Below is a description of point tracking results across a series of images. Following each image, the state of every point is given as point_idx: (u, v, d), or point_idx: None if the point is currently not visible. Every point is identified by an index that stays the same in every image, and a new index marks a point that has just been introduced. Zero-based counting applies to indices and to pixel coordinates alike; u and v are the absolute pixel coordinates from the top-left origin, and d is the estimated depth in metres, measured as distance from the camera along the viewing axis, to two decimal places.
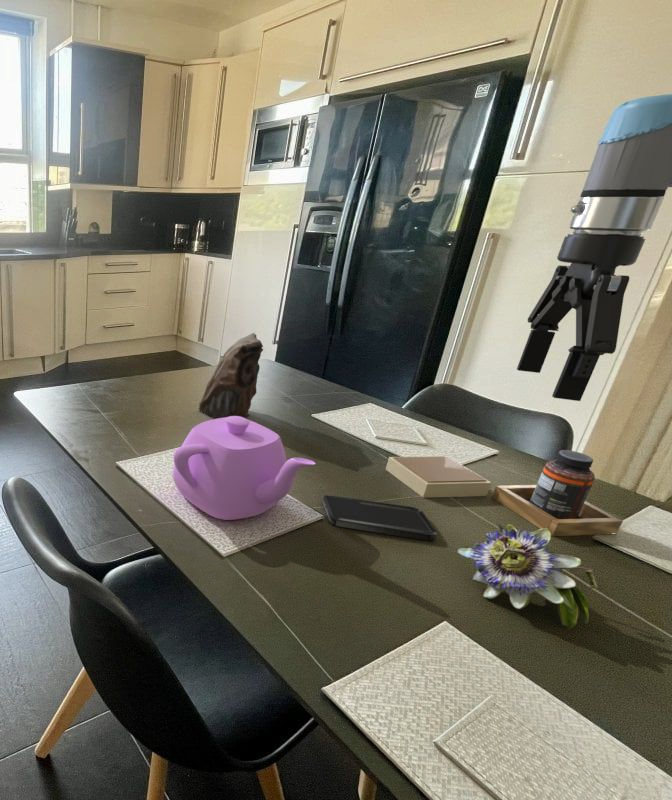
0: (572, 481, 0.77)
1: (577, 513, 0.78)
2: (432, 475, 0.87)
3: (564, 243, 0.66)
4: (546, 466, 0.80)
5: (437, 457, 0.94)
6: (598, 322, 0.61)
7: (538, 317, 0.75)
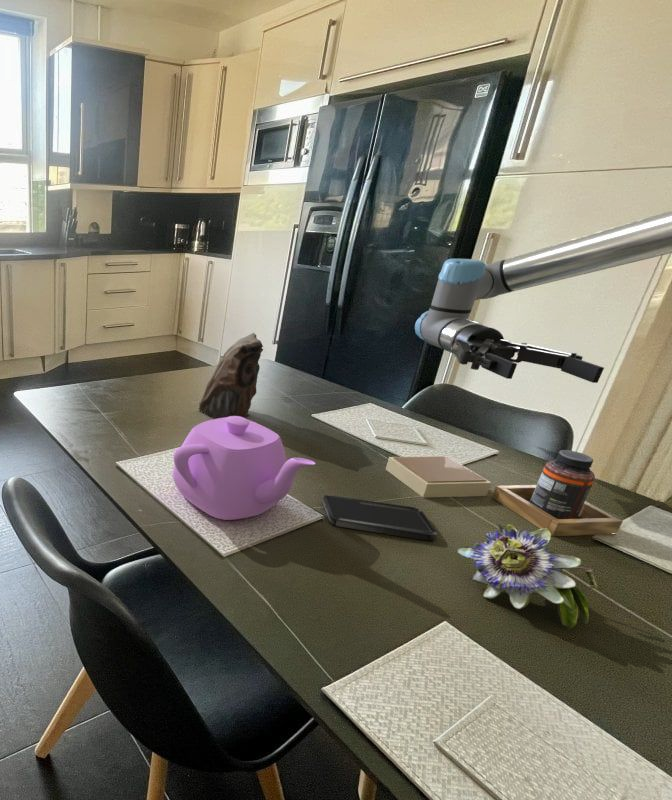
0: (572, 481, 0.77)
1: (577, 513, 0.78)
2: (432, 475, 0.87)
3: None
4: (546, 466, 0.80)
5: (437, 457, 0.94)
6: (458, 356, 0.93)
7: (553, 366, 0.90)
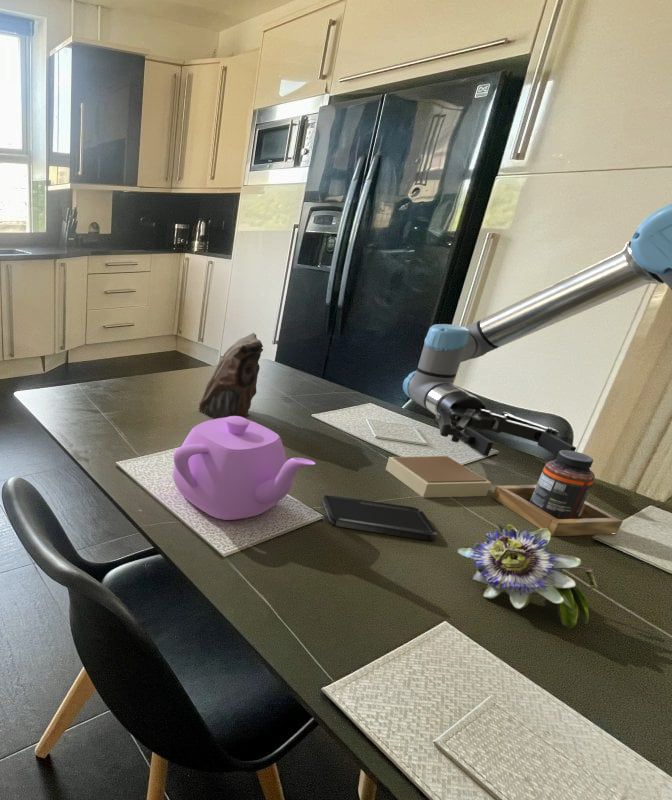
0: (572, 481, 0.77)
1: (577, 513, 0.78)
2: (432, 475, 0.87)
3: None
4: (546, 466, 0.80)
5: (437, 457, 0.94)
6: (440, 427, 0.97)
7: None
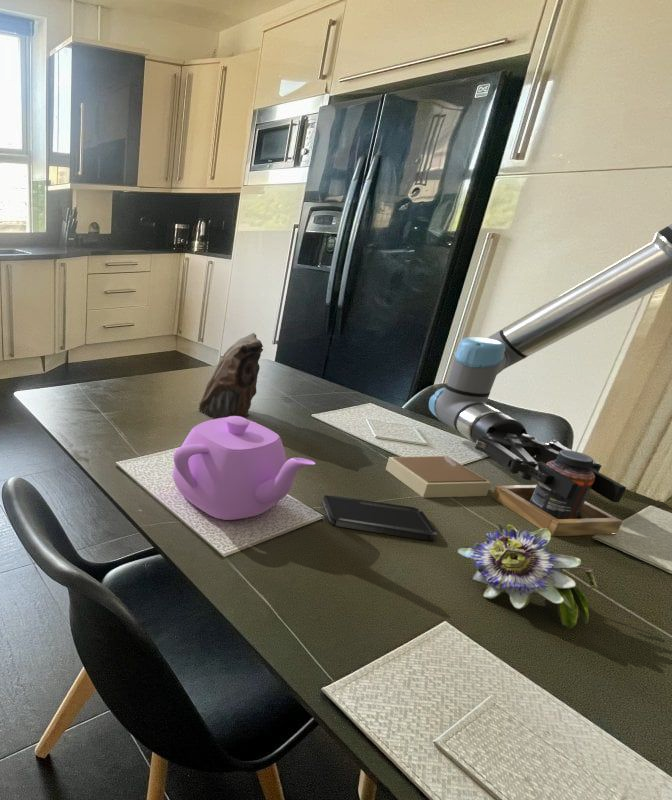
0: None
1: (577, 513, 0.78)
2: (432, 475, 0.87)
3: None
4: None
5: (437, 457, 0.94)
6: (498, 460, 0.85)
7: None
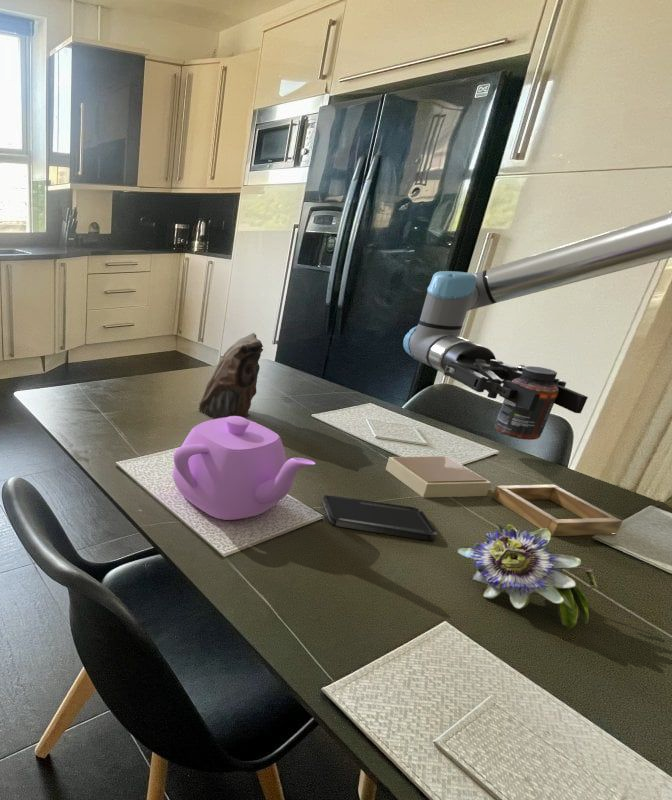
0: None
1: (541, 428, 0.78)
2: (432, 475, 0.87)
3: None
4: None
5: (437, 457, 0.94)
6: (465, 382, 0.85)
7: None
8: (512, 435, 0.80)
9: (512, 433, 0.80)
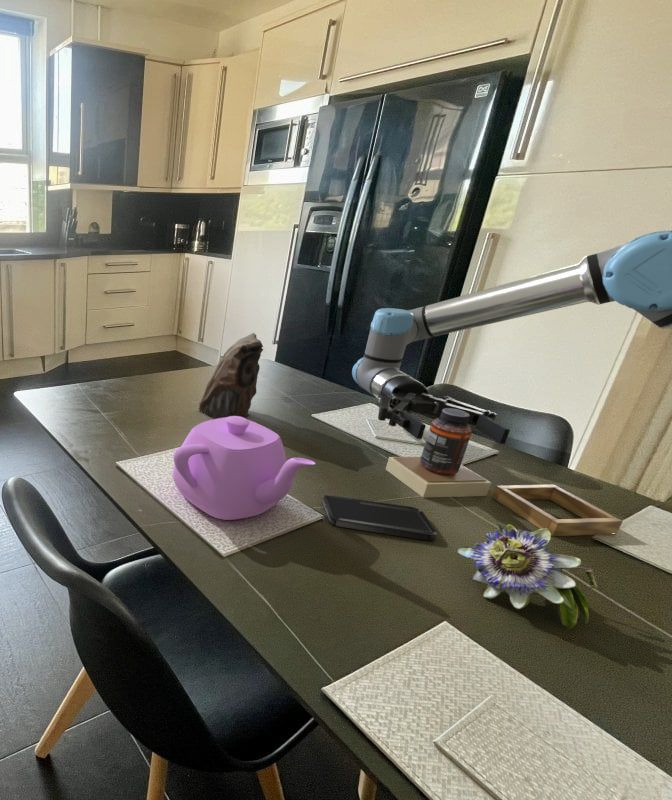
0: (450, 435, 0.85)
1: (458, 464, 0.87)
2: (432, 475, 0.87)
3: None
4: (432, 423, 0.88)
5: None
6: (379, 411, 0.95)
7: None
8: (433, 470, 0.88)
9: (433, 469, 0.88)
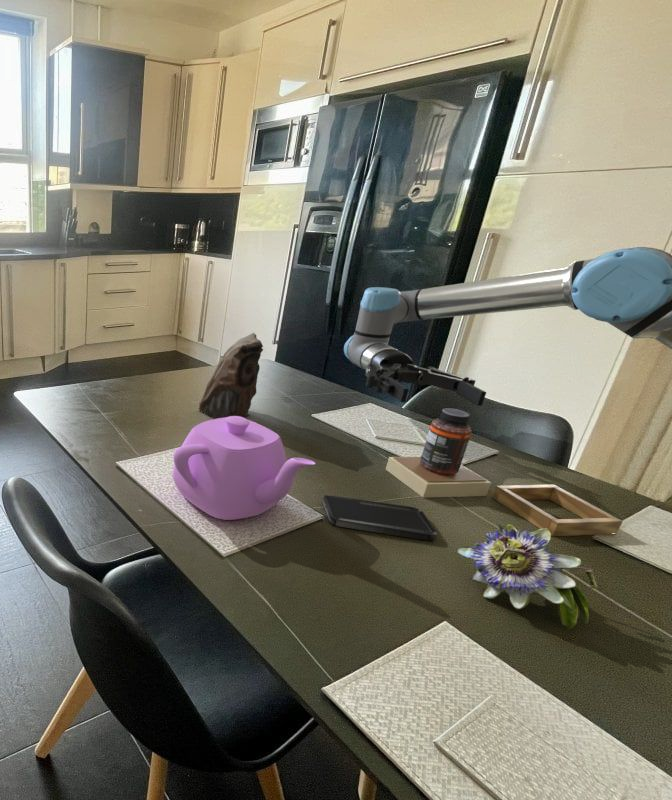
0: (450, 435, 0.85)
1: (458, 464, 0.87)
2: (432, 475, 0.87)
3: None
4: (432, 423, 0.88)
5: None
6: None
7: None
8: (433, 470, 0.88)
9: (433, 469, 0.88)
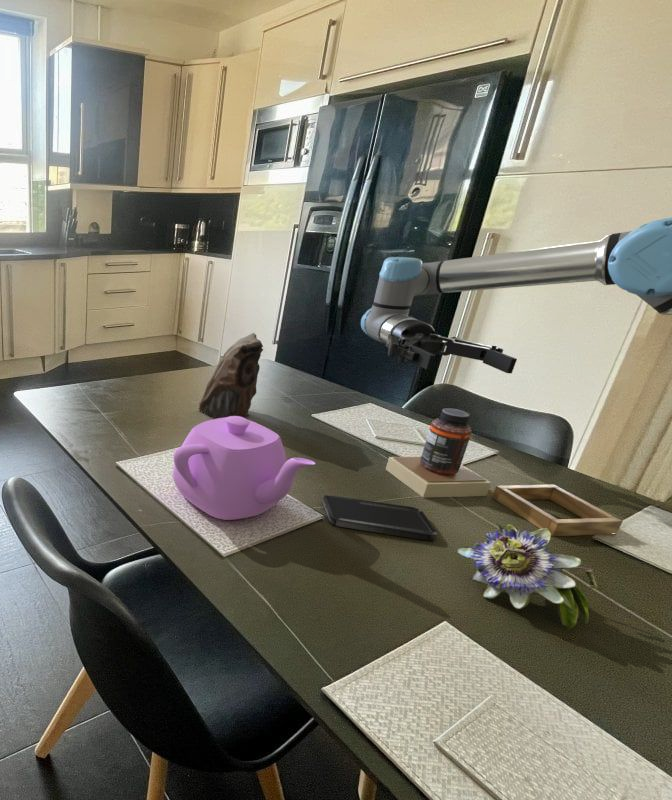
0: (450, 435, 0.85)
1: (458, 464, 0.87)
2: (432, 475, 0.87)
3: None
4: (432, 423, 0.88)
5: None
6: (388, 350, 0.98)
7: None
8: (433, 470, 0.88)
9: (433, 469, 0.88)
